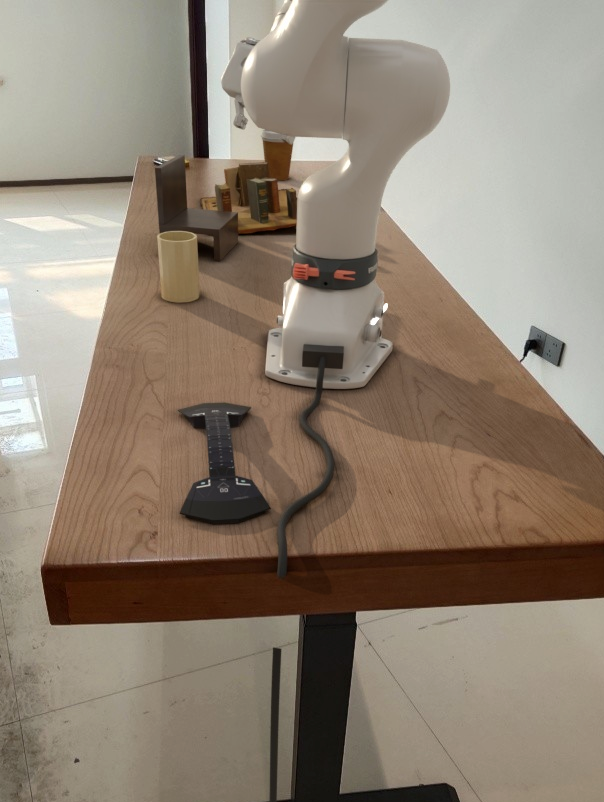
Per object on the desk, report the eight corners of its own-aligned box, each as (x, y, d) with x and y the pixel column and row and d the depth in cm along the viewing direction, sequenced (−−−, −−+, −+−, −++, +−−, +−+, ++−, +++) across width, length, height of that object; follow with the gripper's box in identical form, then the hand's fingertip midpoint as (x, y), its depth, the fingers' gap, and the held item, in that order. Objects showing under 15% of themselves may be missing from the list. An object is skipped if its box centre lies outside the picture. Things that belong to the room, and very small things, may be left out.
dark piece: (250, 405, 93) (249, 381, 91) (272, 521, 73) (272, 493, 71) (177, 408, 92) (176, 383, 90) (180, 526, 72) (178, 498, 70)
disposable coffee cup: (301, 178, 209) (302, 131, 202) (278, 183, 203) (279, 135, 196) (276, 173, 214) (277, 127, 207) (253, 177, 208) (253, 130, 201)
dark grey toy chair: (220, 261, 142) (217, 172, 133) (160, 255, 144) (154, 167, 135) (238, 242, 154) (237, 159, 145) (183, 237, 155) (179, 154, 146)
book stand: (316, 237, 159) (312, 162, 150) (207, 251, 157) (196, 176, 148) (293, 197, 187) (288, 132, 178) (201, 209, 185) (191, 143, 176)
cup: (192, 304, 123) (189, 243, 117) (156, 300, 123) (151, 239, 118) (204, 292, 128) (201, 232, 122) (168, 288, 129) (164, 229, 123)
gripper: (232, 24, 119) (201, 109, 122) (342, 53, 113) (307, 142, 115) (248, 45, 125) (219, 126, 128) (353, 73, 119) (321, 158, 121)
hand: (262, 134), depth 121 cm, fingers open, 8 cm apart
